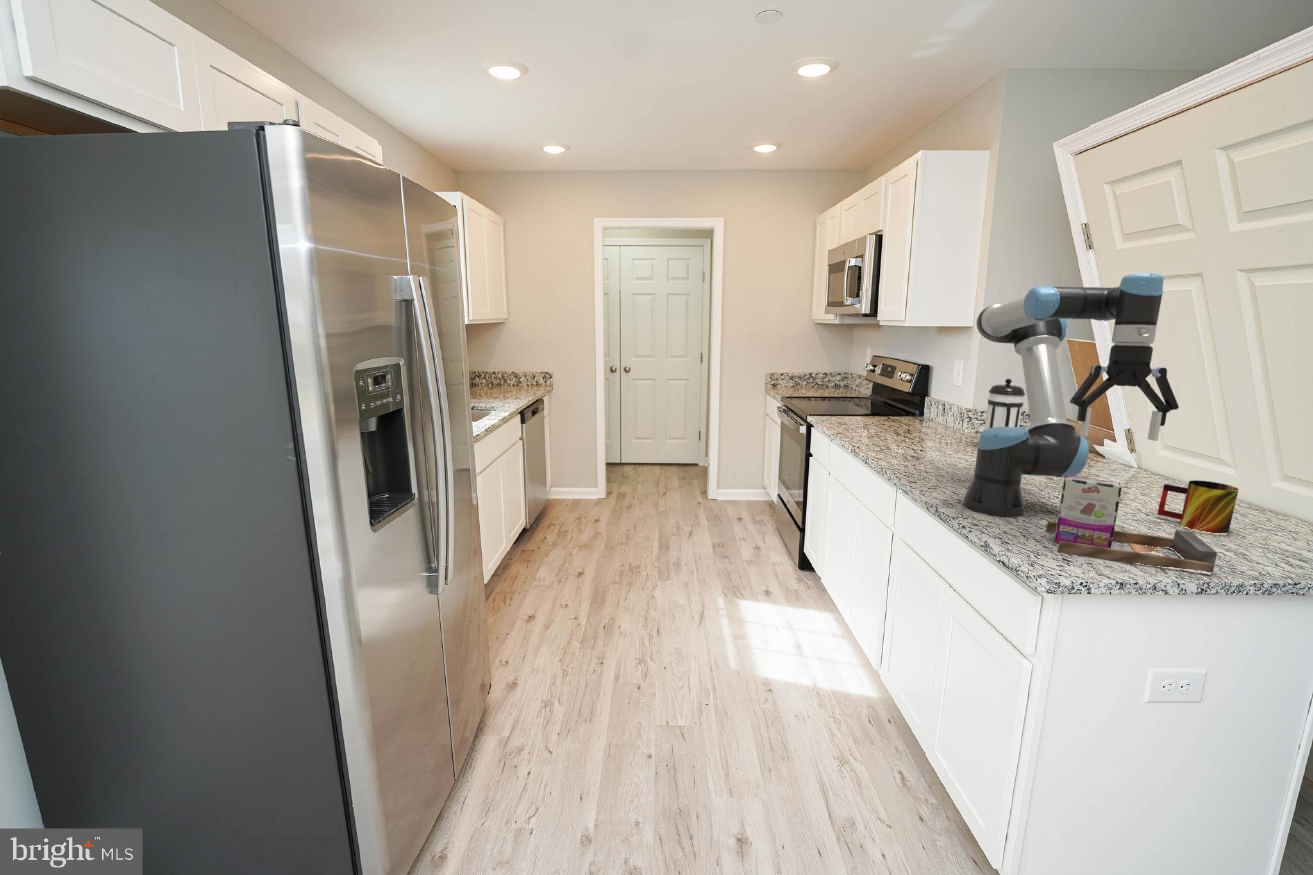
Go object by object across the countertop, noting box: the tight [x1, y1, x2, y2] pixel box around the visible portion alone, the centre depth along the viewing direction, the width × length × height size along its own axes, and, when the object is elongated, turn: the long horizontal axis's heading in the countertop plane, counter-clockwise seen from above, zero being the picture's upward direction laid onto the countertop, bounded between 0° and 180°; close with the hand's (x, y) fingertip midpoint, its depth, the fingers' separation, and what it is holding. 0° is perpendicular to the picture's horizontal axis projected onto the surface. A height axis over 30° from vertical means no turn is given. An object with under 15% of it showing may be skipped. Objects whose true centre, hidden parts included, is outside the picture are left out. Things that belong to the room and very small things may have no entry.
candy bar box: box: [1054, 475, 1123, 548], centre depth 142 cm, size 11×5×16 cm, turn 56°
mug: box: [1156, 479, 1239, 533], centre depth 158 cm, size 10×14×12 cm
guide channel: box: [1046, 520, 1218, 573], centre depth 140 cm, size 28×16×5 cm, turn 66°
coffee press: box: [984, 378, 1026, 430], centre depth 241 cm, size 17×16×30 cm
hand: (1117, 437), depth 137 cm, fingers open, 13 cm apart
